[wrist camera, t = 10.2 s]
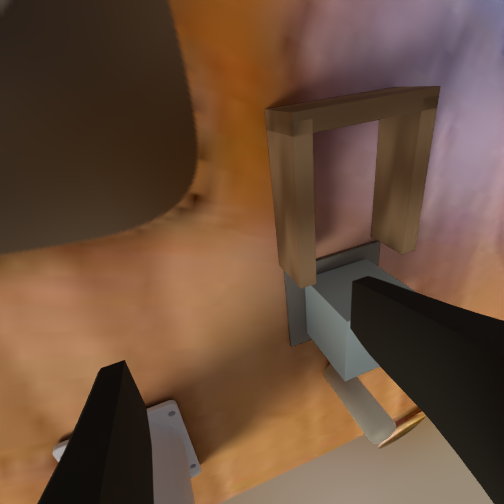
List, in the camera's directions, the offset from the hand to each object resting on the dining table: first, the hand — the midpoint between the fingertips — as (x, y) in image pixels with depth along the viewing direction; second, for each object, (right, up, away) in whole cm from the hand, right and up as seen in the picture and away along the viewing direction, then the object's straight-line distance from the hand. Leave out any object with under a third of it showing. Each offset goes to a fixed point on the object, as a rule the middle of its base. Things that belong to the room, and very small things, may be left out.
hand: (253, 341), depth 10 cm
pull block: (+7, -3, +15) cm, 17 cm away
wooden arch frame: (+5, +7, +10) cm, 13 cm away
